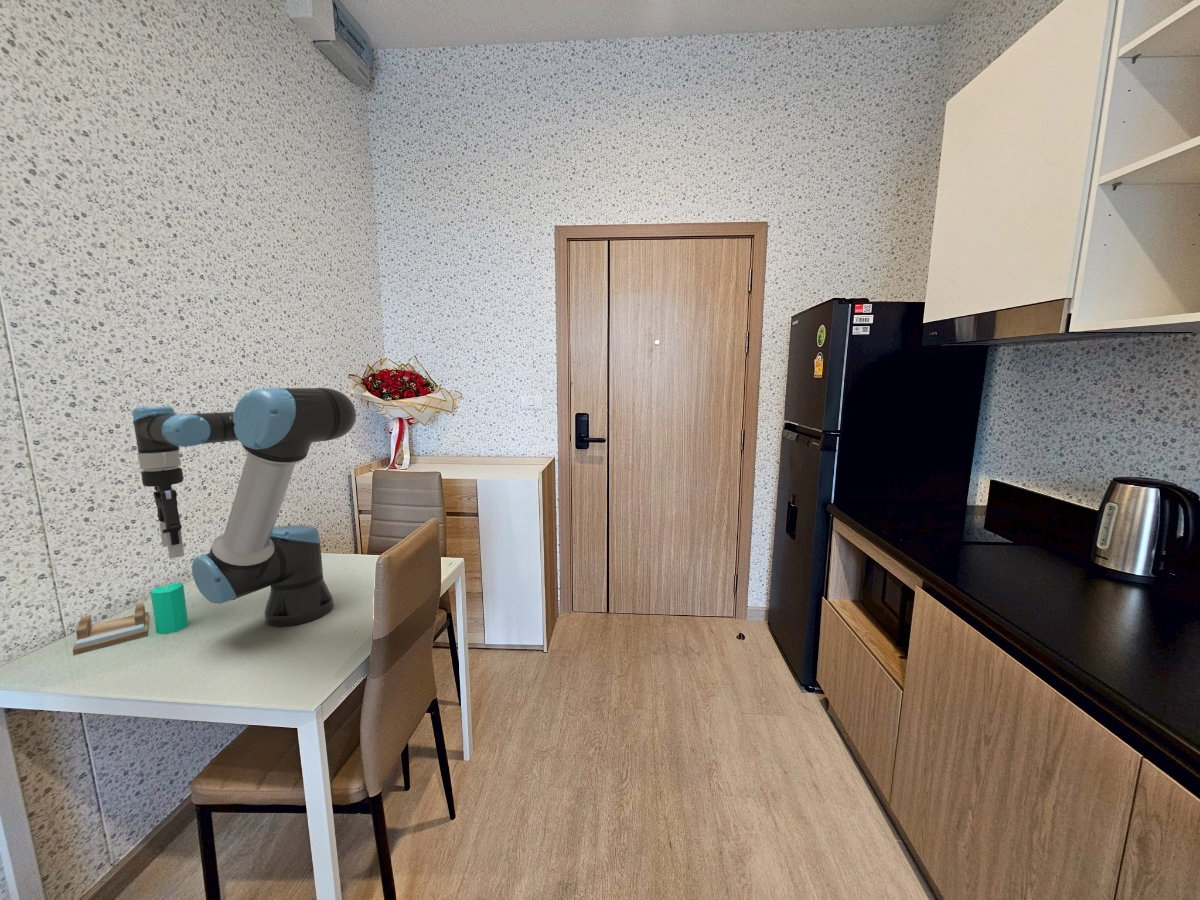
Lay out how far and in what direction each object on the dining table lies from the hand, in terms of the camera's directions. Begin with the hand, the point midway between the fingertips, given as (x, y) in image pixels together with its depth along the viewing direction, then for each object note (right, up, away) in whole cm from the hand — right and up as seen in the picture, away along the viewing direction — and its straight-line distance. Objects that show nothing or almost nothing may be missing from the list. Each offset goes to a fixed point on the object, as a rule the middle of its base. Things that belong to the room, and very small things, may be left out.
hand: (173, 551), depth 120 cm
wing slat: (-6, -18, -9) cm, 21 cm away
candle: (+2, -19, -3) cm, 19 cm away
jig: (-9, -19, -5) cm, 22 cm away
